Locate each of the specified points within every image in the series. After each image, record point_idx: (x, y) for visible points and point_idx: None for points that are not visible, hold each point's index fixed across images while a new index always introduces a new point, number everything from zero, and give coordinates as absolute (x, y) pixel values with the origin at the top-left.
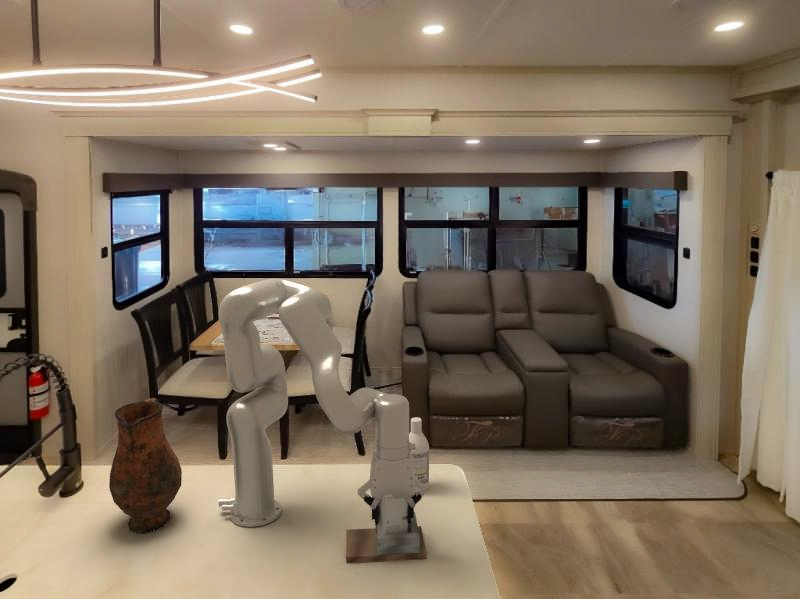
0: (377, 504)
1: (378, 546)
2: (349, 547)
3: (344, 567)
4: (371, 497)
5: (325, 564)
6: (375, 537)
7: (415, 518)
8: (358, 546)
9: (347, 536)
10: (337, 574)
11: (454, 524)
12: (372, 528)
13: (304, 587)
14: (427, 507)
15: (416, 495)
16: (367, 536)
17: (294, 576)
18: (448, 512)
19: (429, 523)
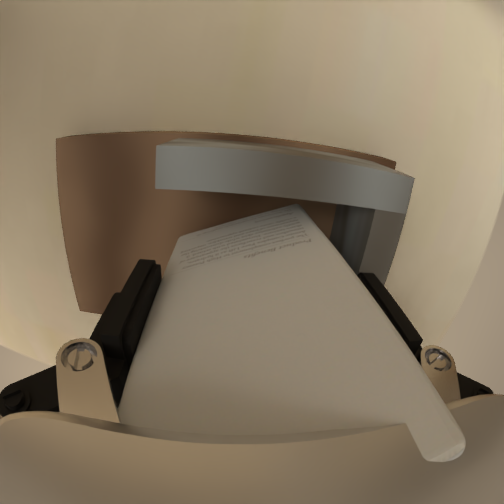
0: (131, 353)
1: None
2: (78, 264)
3: (88, 313)
4: (58, 404)
5: (41, 290)
6: (173, 211)
7: (393, 247)
8: (107, 263)
9: (62, 192)
10: (79, 333)
11: (480, 152)
12: (164, 133)
13: (34, 350)
14: (432, 15)
15: None
16: (137, 199)
17: (4, 314)
18: (482, 79)
19: (423, 113)
